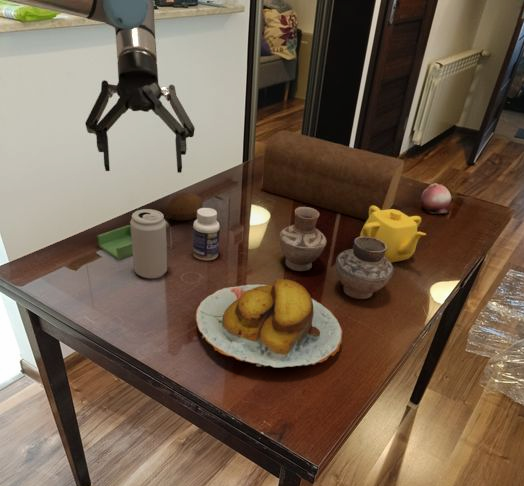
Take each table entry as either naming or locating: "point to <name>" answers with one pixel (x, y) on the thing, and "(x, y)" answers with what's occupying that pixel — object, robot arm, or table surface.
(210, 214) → the pill bottle
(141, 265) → the beverage can
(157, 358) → the table surface
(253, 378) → the table surface
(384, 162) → the bread
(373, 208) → the teapot
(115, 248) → the scoop
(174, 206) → the potato
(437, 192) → the pink peach
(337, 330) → the food on plate
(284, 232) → the pottery
